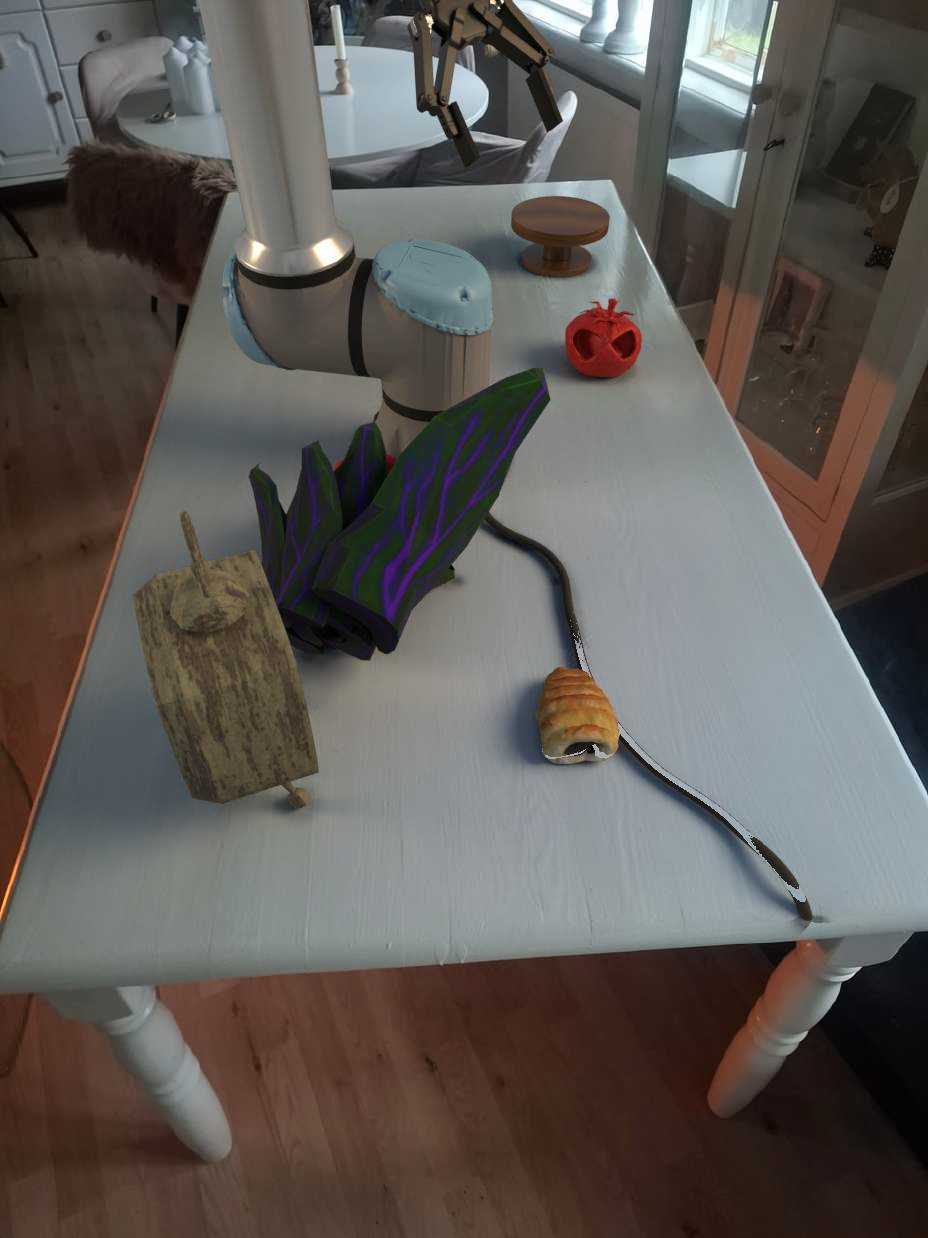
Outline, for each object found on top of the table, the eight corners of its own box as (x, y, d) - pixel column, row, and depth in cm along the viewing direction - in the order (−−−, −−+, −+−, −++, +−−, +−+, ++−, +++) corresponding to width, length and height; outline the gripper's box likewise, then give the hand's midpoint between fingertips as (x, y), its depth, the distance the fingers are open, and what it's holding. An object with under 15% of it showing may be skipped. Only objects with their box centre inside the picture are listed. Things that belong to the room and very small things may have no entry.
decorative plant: (287, 695, 87) (393, 469, 101) (507, 718, 73) (596, 451, 86) (141, 576, 73) (287, 331, 86) (379, 576, 58) (510, 281, 72)
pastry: (526, 681, 77) (530, 653, 74) (601, 677, 77) (607, 649, 75) (542, 770, 71) (546, 742, 68) (623, 765, 71) (630, 737, 68)
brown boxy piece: (328, 816, 67) (283, 586, 49) (212, 856, 65) (120, 629, 47) (283, 683, 77) (231, 448, 58) (179, 713, 74) (92, 478, 56)
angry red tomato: (563, 344, 119) (569, 278, 112) (636, 349, 118) (647, 283, 111) (560, 382, 112) (567, 315, 105) (638, 388, 111) (650, 320, 104)
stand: (614, 280, 133) (621, 232, 127) (518, 285, 131) (521, 236, 126) (591, 239, 143) (596, 193, 138) (501, 244, 141) (504, 197, 136)
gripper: (501, -47, 108) (570, 125, 114) (338, 5, 98) (422, 190, 105) (533, -87, 101) (605, 98, 107) (361, -35, 92) (450, 165, 98)
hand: (515, 144), depth 106 cm, fingers open, 13 cm apart
